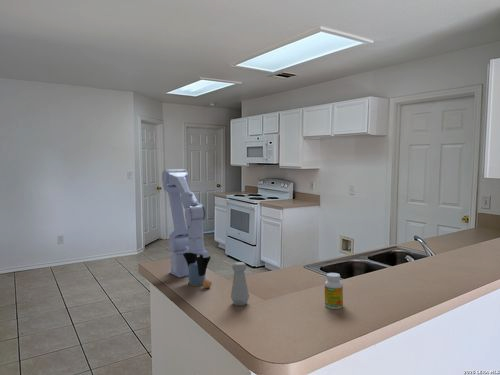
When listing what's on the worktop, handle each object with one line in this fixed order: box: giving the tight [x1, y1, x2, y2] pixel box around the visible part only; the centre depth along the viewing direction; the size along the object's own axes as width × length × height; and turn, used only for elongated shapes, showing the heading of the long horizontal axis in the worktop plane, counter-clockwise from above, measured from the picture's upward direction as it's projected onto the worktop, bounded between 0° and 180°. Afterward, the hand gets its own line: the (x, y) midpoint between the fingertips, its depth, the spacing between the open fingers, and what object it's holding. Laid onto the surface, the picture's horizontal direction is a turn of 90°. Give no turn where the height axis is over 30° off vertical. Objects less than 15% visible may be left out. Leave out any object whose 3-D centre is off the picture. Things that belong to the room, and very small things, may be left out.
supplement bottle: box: [324, 272, 344, 310], centre depth 107 cm, size 5×5×10 cm
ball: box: [202, 278, 212, 289], centre depth 127 cm, size 3×3×3 cm
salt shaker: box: [230, 261, 250, 307], centre depth 111 cm, size 6×6×13 cm
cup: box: [188, 262, 207, 285], centre depth 132 cm, size 6×6×7 cm
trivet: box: [187, 281, 204, 287], centre depth 133 cm, size 7×7×1 cm
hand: (197, 273), depth 132 cm, fingers open, 7 cm apart
